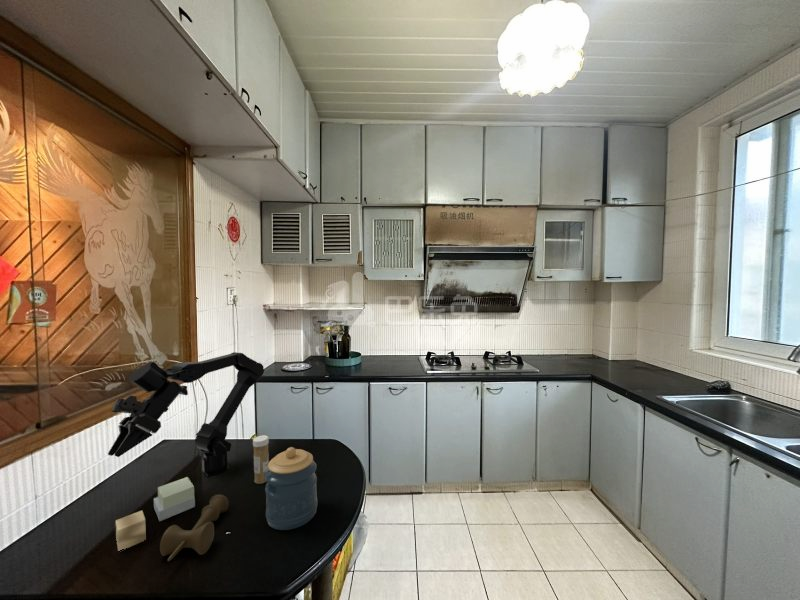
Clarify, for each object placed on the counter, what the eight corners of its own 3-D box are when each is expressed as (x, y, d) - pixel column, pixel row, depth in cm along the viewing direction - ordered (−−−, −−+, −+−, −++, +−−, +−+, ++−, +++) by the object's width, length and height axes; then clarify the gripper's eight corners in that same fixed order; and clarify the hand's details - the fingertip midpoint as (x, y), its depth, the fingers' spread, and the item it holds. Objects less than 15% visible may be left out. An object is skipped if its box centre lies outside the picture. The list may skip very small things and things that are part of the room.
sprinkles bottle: (271, 481, 101) (269, 438, 101) (255, 486, 98) (254, 442, 98) (268, 474, 105) (266, 433, 104) (252, 479, 102) (251, 437, 102)
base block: (187, 496, 95) (187, 486, 95) (195, 508, 89) (194, 497, 89) (154, 509, 89) (153, 498, 89) (159, 523, 84) (159, 511, 83)
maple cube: (142, 529, 81) (142, 510, 81) (146, 540, 77) (145, 519, 77) (116, 541, 77) (115, 520, 77) (118, 552, 74) (117, 530, 74)
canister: (303, 492, 94) (301, 433, 94) (327, 513, 85) (325, 447, 85) (257, 514, 85) (256, 448, 85) (279, 540, 76) (277, 466, 76)
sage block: (187, 487, 94) (187, 476, 94) (194, 497, 89) (194, 486, 89) (158, 498, 89) (157, 487, 89) (163, 509, 84) (163, 498, 84)
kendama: (238, 512, 87) (191, 574, 67) (203, 514, 87) (145, 576, 67) (237, 490, 87) (190, 545, 67) (202, 492, 87) (144, 547, 67)
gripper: (125, 388, 95) (75, 440, 85) (140, 382, 84) (85, 441, 74) (160, 408, 100) (117, 459, 90) (179, 404, 89) (132, 462, 78)
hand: (112, 455), depth 83 cm, fingers open, 9 cm apart
